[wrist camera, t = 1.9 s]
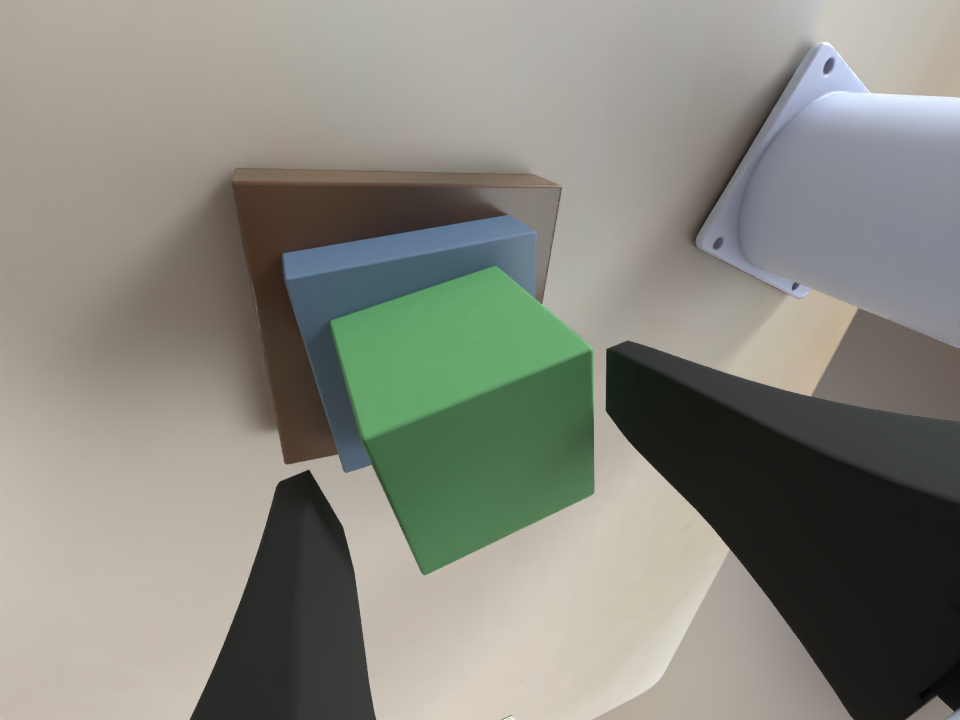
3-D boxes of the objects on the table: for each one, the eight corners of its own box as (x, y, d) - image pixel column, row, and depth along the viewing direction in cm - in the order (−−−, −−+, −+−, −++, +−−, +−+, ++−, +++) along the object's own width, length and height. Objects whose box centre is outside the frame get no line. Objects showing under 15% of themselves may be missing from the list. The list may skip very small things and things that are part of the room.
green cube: (496, 264, 12) (594, 346, 9) (514, 391, 15) (595, 494, 11) (327, 320, 11) (360, 440, 8) (380, 445, 14) (423, 577, 10)
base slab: (535, 174, 15) (563, 185, 14) (504, 393, 20) (523, 418, 18) (233, 167, 12) (230, 181, 10) (282, 432, 16) (284, 466, 15)
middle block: (509, 213, 14) (537, 231, 12) (510, 386, 17) (532, 414, 16) (280, 253, 12) (283, 278, 10) (336, 437, 15) (344, 474, 14)
